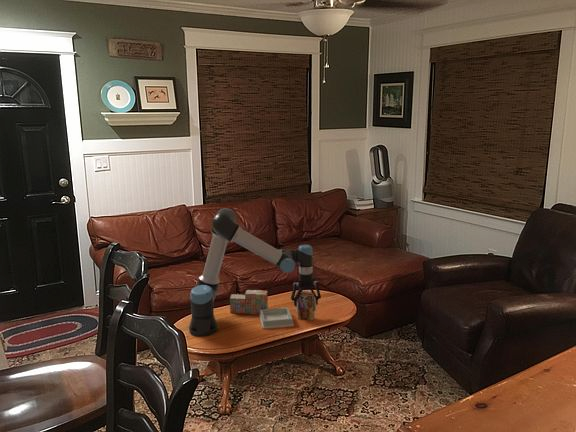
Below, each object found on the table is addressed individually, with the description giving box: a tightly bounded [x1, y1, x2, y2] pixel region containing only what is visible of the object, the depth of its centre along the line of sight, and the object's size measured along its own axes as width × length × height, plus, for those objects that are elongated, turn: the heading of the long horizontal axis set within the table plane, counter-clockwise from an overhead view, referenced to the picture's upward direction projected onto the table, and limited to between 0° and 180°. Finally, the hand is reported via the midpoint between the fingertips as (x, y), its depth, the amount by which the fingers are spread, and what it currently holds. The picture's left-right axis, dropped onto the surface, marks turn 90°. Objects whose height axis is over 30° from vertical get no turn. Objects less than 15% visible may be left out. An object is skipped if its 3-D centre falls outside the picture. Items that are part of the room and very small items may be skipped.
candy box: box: [297, 290, 315, 321], centre depth 280 cm, size 9×4×15 cm, turn 70°
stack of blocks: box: [229, 289, 269, 315], centre depth 291 cm, size 21×6×12 cm, turn 84°
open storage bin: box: [258, 307, 295, 329], centre depth 278 cm, size 17×17×4 cm
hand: (306, 310), depth 280 cm, fingers closed on candy box, 9 cm apart
